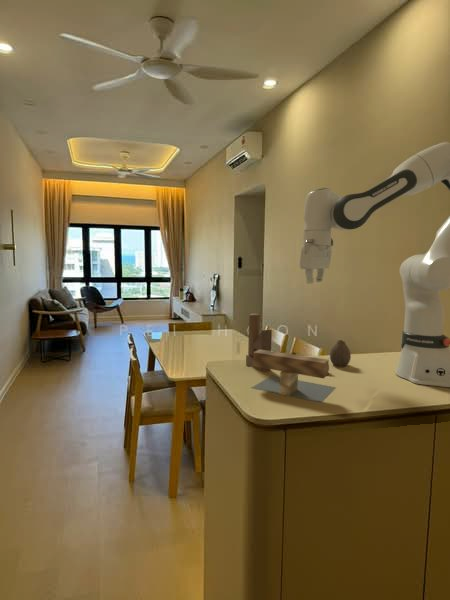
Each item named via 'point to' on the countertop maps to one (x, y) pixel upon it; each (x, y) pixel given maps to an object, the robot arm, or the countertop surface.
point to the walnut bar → (291, 363)
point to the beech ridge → (288, 383)
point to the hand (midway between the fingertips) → (314, 282)
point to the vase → (340, 354)
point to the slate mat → (304, 389)
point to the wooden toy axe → (257, 340)
